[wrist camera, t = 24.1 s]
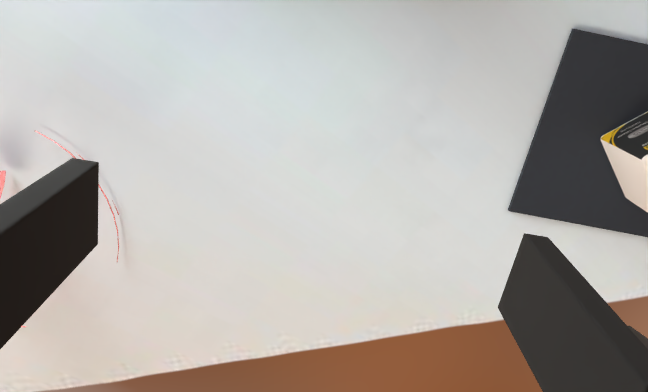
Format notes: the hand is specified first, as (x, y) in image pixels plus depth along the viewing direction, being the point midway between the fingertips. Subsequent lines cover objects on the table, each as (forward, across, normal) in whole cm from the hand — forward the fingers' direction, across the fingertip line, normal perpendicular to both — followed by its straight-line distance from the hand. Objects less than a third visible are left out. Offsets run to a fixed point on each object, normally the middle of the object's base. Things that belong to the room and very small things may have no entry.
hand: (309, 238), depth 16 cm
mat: (+31, +30, -1) cm, 44 cm away
